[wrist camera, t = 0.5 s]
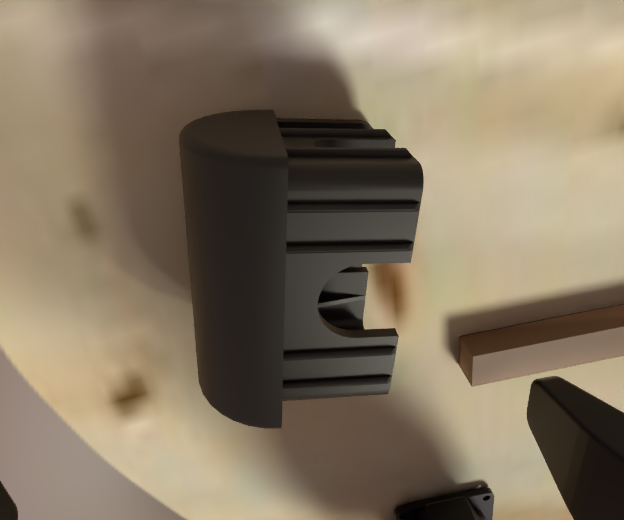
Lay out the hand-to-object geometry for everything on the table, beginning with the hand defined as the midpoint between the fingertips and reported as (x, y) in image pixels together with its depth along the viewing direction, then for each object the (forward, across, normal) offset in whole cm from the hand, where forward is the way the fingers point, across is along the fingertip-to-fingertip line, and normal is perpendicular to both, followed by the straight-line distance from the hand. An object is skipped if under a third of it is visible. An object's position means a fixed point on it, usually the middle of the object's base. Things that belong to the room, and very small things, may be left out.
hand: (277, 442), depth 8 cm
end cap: (+14, -1, +2) cm, 14 cm away
